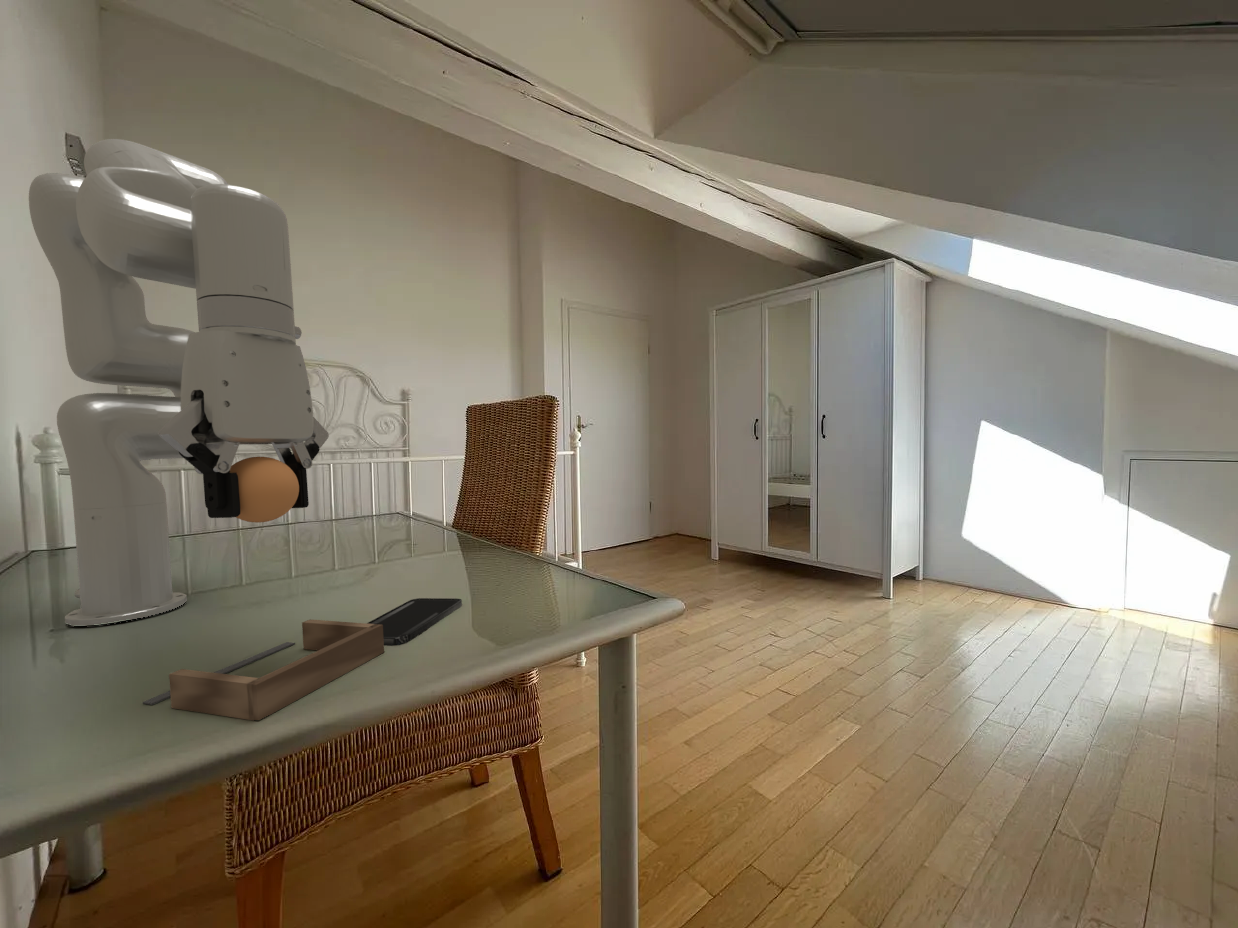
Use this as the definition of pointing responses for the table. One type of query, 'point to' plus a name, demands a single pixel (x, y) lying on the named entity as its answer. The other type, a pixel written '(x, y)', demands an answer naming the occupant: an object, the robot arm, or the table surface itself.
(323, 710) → the table surface
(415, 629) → the phone
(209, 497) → the robot arm
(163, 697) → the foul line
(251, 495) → the brown egg
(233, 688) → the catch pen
